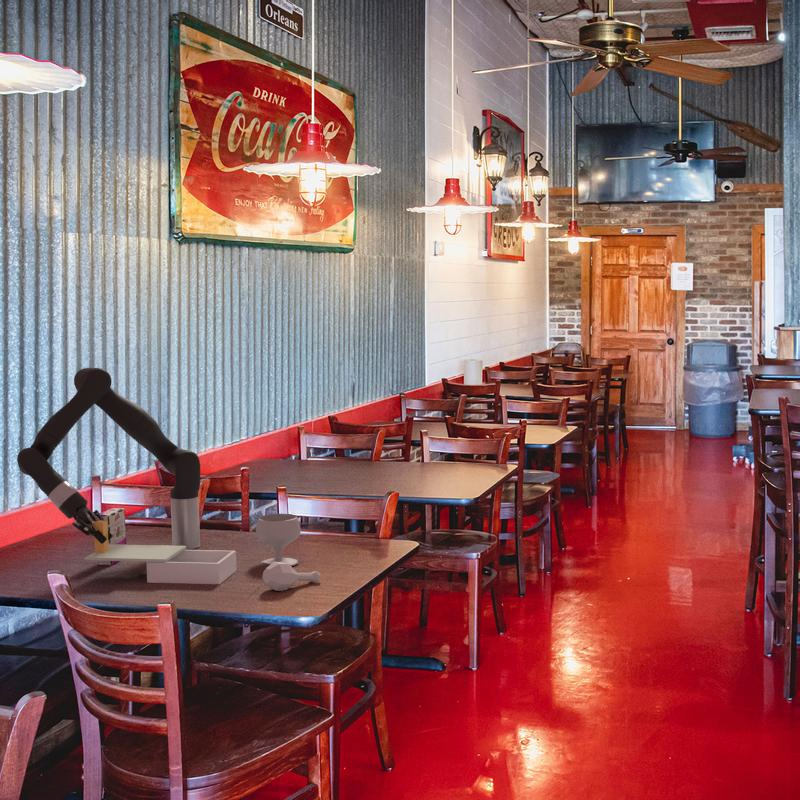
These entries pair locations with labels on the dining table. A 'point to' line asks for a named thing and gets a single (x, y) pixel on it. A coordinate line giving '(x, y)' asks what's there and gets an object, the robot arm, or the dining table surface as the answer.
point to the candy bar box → (115, 528)
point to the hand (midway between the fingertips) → (107, 539)
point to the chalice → (278, 534)
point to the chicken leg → (286, 576)
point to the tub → (194, 567)
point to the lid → (130, 550)
